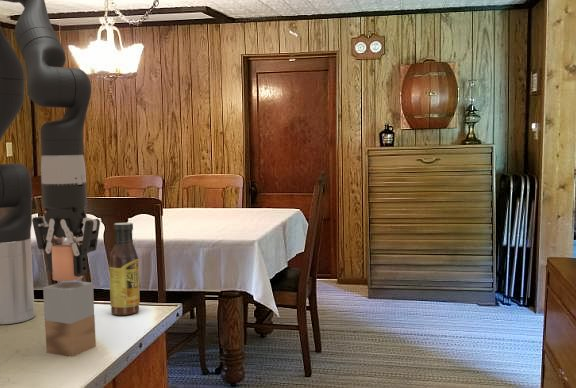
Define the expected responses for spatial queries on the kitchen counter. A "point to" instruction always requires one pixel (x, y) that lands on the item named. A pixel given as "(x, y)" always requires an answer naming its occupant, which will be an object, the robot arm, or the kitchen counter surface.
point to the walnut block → (70, 337)
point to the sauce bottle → (124, 272)
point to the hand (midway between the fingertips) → (67, 274)
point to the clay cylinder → (63, 262)
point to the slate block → (68, 301)
